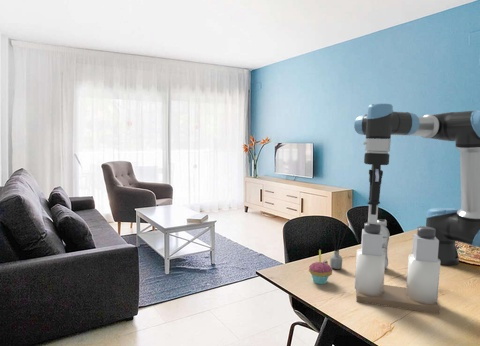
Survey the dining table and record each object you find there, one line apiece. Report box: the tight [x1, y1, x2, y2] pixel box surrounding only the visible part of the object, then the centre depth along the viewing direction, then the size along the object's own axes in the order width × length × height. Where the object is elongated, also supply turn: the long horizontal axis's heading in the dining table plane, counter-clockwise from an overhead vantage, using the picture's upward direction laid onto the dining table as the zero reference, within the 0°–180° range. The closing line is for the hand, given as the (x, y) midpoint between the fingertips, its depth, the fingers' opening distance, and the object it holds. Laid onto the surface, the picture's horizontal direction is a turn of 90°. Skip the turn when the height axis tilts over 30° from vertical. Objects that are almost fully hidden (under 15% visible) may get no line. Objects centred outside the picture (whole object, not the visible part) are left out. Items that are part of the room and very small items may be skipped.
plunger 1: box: [363, 221, 381, 233], centre depth 112 cm, size 5×5×9 cm
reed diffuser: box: [322, 219, 350, 270], centre depth 136 cm, size 10×7×20 cm
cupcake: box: [308, 250, 333, 285], centre depth 124 cm, size 9×8×12 cm
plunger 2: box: [416, 225, 436, 238], centre depth 107 cm, size 5×5×9 cm
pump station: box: [354, 228, 441, 315], centre depth 111 cm, size 25×12×22 cm, turn 73°
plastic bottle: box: [377, 219, 390, 270], centre depth 137 cm, size 6×7×20 cm
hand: (372, 223), depth 111 cm, fingers closed
